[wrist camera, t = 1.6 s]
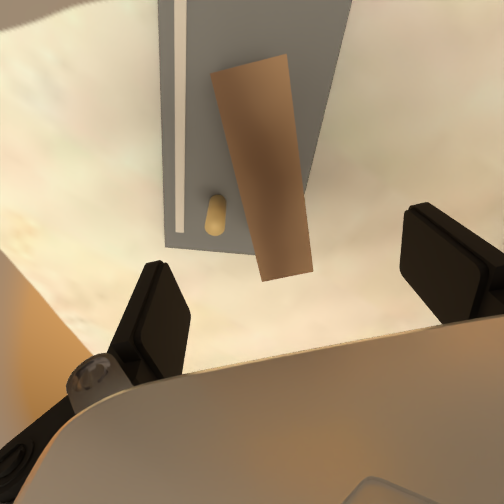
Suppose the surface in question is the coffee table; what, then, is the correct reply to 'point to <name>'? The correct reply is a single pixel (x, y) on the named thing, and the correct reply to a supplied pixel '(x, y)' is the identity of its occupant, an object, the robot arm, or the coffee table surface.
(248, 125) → the wooden block
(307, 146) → the board
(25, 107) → the coffee table surface
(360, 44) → the coffee table surface
